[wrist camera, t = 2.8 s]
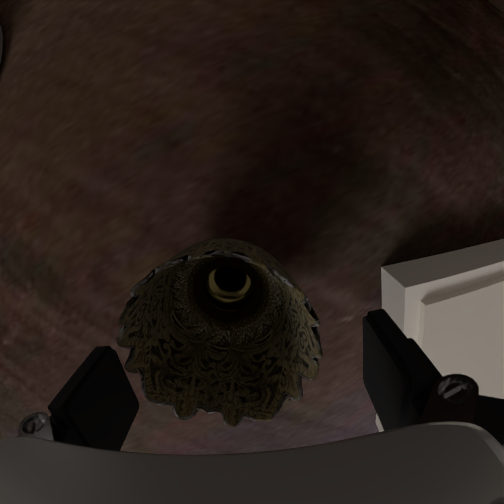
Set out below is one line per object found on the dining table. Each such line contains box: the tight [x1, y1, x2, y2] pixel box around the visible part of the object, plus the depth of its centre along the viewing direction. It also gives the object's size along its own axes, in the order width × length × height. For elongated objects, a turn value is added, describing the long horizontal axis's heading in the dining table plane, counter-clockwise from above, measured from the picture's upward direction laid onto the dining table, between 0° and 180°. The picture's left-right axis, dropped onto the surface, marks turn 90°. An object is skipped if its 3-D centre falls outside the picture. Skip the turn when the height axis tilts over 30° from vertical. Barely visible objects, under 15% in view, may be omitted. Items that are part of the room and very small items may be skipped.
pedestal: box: [376, 239, 504, 432], centre depth 18 cm, size 14×14×4 cm
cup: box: [117, 238, 323, 427], centre depth 14 cm, size 7×7×8 cm
